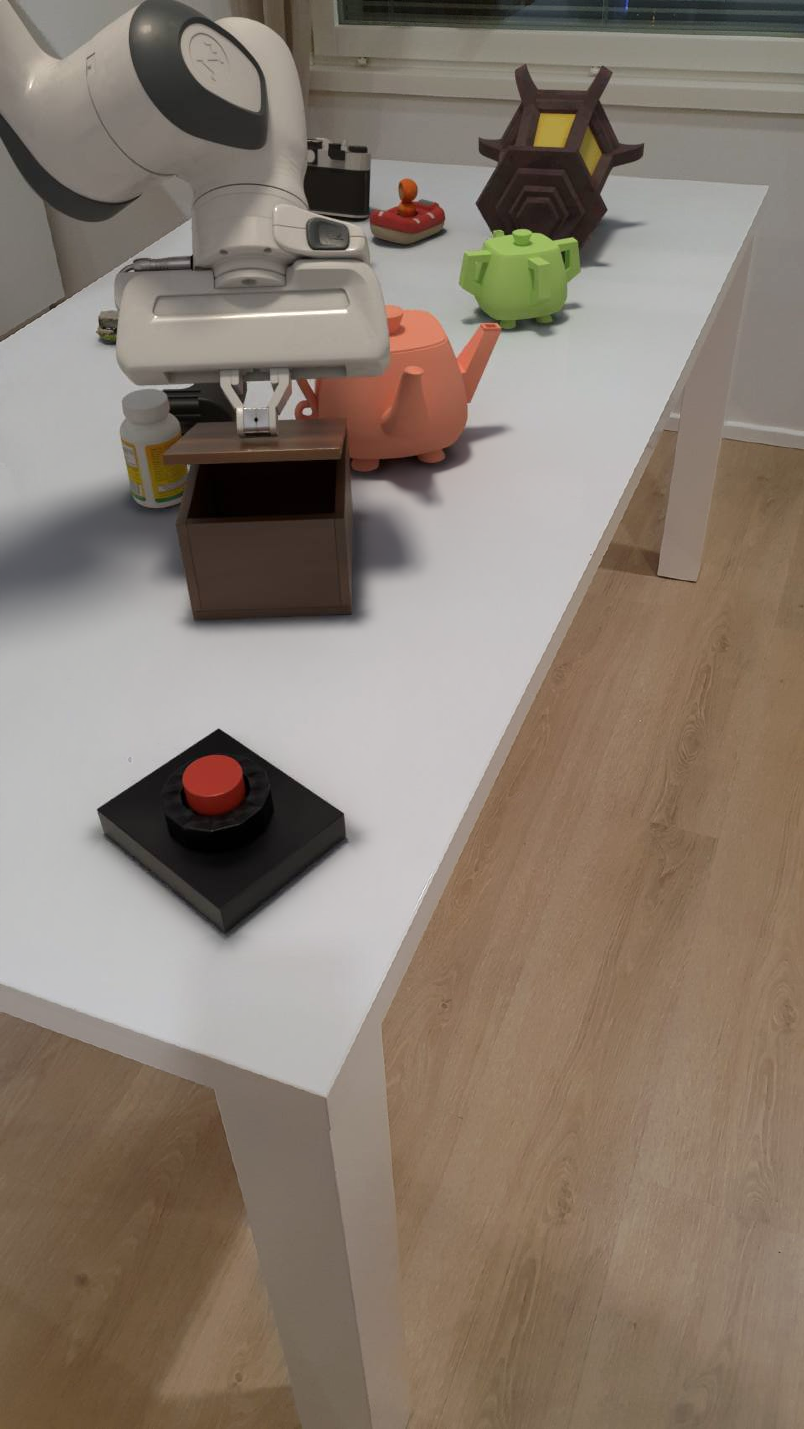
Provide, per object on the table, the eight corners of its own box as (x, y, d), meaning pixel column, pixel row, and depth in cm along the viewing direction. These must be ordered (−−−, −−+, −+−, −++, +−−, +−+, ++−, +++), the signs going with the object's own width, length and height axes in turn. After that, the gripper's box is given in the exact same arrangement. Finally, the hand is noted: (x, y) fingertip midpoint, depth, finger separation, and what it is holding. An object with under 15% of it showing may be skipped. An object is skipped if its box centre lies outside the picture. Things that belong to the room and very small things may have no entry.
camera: (388, 213, 165) (391, 139, 160) (357, 219, 157) (360, 142, 152) (304, 203, 170) (304, 131, 165) (270, 209, 162) (269, 134, 156)
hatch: (340, 459, 76) (340, 447, 76) (163, 465, 76) (162, 454, 76) (347, 427, 91) (346, 417, 90) (197, 432, 91) (196, 422, 90)
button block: (103, 832, 69) (89, 788, 66) (223, 751, 74) (214, 707, 71) (225, 933, 63) (216, 890, 60) (346, 836, 68) (342, 792, 65)
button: (174, 797, 66) (169, 777, 65) (219, 766, 68) (215, 746, 67) (212, 825, 64) (208, 805, 63) (257, 793, 66) (254, 772, 65)
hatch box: (351, 614, 86) (344, 518, 80) (193, 620, 86) (175, 524, 80) (353, 517, 97) (347, 427, 91) (212, 522, 97) (198, 432, 91)
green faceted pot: (580, 306, 132) (587, 222, 126) (546, 340, 125) (552, 253, 118) (492, 293, 136) (494, 211, 130) (454, 325, 129) (454, 240, 122)
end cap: (239, 463, 105) (230, 398, 100) (167, 465, 105) (154, 399, 100) (251, 416, 112) (243, 353, 108) (183, 417, 112) (173, 355, 108)
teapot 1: (502, 428, 109) (507, 294, 100) (422, 506, 98) (420, 364, 89) (365, 397, 115) (358, 268, 106) (276, 467, 104) (259, 330, 95)
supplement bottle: (124, 507, 99) (102, 410, 93) (146, 478, 103) (126, 383, 96) (179, 512, 98) (161, 414, 92) (199, 483, 102) (183, 387, 96)
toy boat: (360, 242, 152) (357, 184, 147) (413, 221, 158) (412, 165, 153) (400, 253, 148) (399, 194, 143) (453, 230, 155) (453, 173, 150)
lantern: (457, 299, 147) (496, 196, 166) (627, 297, 141) (648, 190, 160) (438, 135, 131) (483, 41, 149) (629, 125, 125) (652, 28, 143)
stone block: (91, 345, 127) (85, 318, 125) (104, 330, 130) (99, 304, 128) (203, 349, 125) (199, 323, 123) (214, 335, 128) (210, 308, 126)
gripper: (101, 238, 77) (106, 427, 77) (385, 227, 77) (393, 416, 77) (124, 279, 84) (128, 453, 83) (387, 269, 84) (394, 443, 83)
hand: (258, 435), depth 80 cm, fingers closed
